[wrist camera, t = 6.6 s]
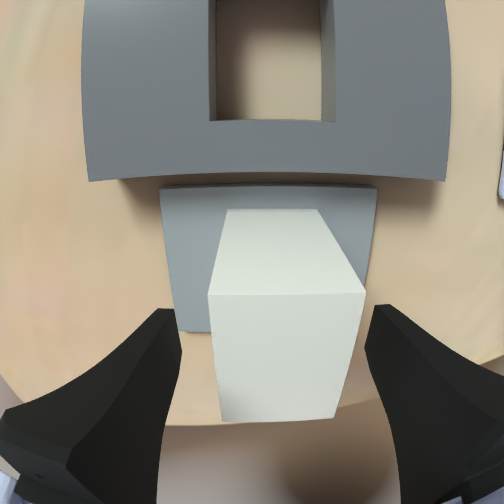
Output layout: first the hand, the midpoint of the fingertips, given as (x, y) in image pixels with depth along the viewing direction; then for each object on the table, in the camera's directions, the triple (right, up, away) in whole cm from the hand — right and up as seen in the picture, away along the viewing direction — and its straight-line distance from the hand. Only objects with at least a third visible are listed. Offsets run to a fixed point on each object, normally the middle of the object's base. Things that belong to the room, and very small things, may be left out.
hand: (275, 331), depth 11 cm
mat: (0, +2, +5) cm, 5 cm away
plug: (0, +2, +4) cm, 5 cm away
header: (0, +11, +1) cm, 11 cm away
